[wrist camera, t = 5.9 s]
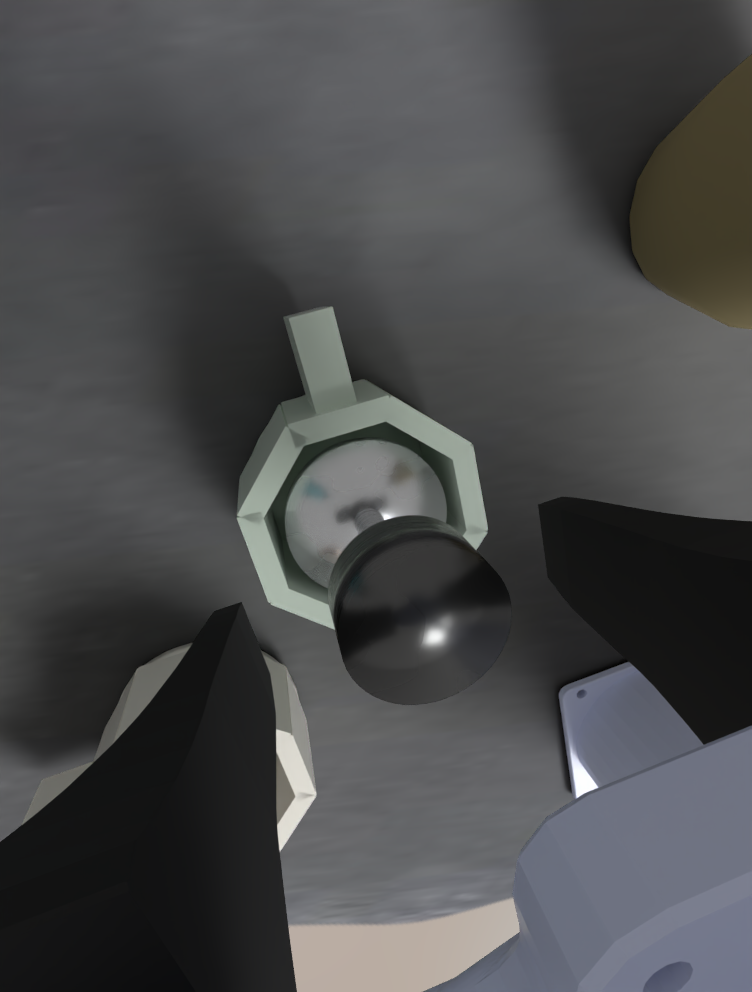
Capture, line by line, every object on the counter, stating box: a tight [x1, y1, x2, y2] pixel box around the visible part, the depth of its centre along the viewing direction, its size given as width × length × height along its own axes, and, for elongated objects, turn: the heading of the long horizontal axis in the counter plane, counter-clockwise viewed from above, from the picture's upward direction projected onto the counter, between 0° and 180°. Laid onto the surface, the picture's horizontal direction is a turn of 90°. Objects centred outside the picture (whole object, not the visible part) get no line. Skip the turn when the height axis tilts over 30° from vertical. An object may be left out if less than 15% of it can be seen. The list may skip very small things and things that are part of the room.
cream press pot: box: [22, 643, 316, 851], centre depth 20 cm, size 10×7×4 cm
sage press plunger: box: [284, 437, 512, 705], centre depth 14 cm, size 5×5×6 cm
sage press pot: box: [237, 307, 488, 629], centre depth 17 cm, size 10×7×4 cm
